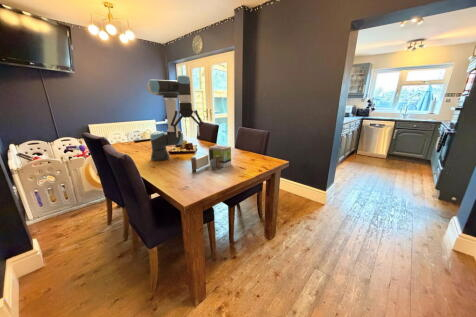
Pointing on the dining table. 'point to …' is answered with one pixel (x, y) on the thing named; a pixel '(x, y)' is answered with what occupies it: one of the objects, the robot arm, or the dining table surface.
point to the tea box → (220, 154)
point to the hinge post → (193, 164)
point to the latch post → (218, 162)
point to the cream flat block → (202, 161)
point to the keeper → (213, 165)
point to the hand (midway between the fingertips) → (188, 136)
